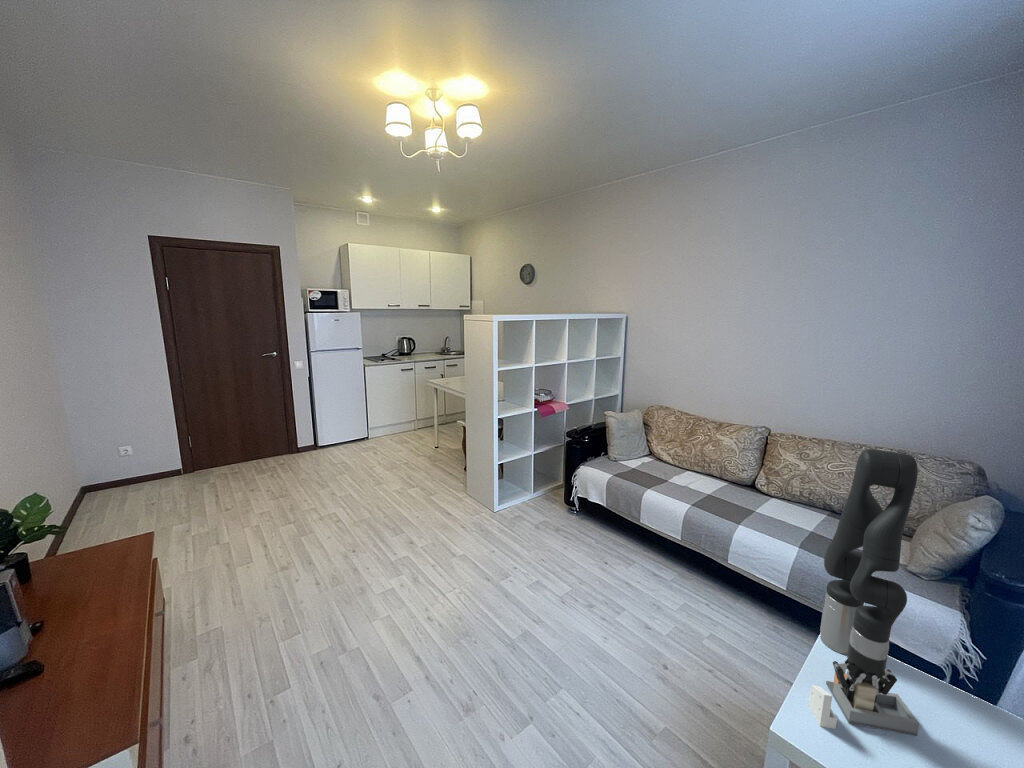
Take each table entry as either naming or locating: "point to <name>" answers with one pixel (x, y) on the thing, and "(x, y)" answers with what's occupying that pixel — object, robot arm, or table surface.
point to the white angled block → (822, 707)
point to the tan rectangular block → (864, 696)
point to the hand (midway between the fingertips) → (859, 700)
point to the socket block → (877, 711)
